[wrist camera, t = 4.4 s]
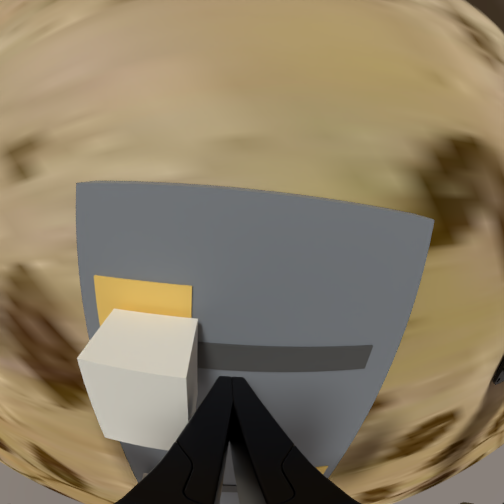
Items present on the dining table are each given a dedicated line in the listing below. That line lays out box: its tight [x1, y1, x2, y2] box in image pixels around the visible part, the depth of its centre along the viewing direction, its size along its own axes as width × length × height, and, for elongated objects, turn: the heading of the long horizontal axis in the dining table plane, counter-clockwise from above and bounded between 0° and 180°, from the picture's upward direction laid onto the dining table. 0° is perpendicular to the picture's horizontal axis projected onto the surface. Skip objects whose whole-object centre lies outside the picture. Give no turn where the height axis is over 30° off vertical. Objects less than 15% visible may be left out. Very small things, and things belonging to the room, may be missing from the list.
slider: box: [77, 309, 198, 450], centre depth 8 cm, size 3×4×3 cm
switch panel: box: [76, 181, 434, 504], centre depth 12 cm, size 13×24×2 cm, turn 174°
